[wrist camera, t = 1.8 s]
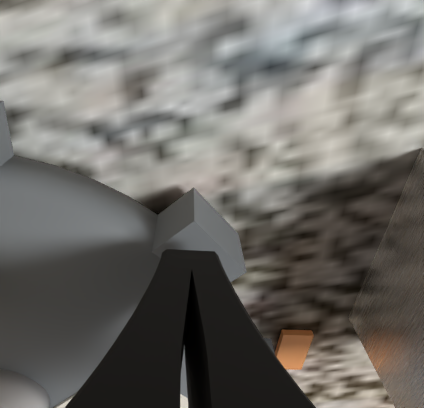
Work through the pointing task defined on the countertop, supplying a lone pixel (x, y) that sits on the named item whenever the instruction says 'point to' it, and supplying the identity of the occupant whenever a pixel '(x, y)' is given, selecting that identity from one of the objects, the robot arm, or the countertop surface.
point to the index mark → (293, 347)
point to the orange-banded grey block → (397, 299)
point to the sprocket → (81, 271)
